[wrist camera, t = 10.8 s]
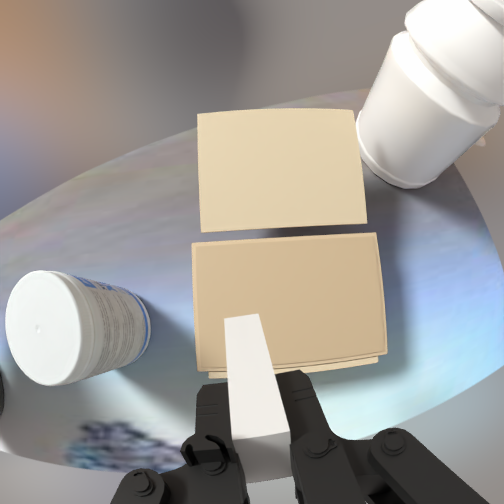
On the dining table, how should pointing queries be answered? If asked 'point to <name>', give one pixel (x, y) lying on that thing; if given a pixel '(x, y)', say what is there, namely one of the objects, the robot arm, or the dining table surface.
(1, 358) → the dining table surface
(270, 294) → the carton
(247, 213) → the flap
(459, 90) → the bottle
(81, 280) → the supplement tub
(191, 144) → the dining table surface
